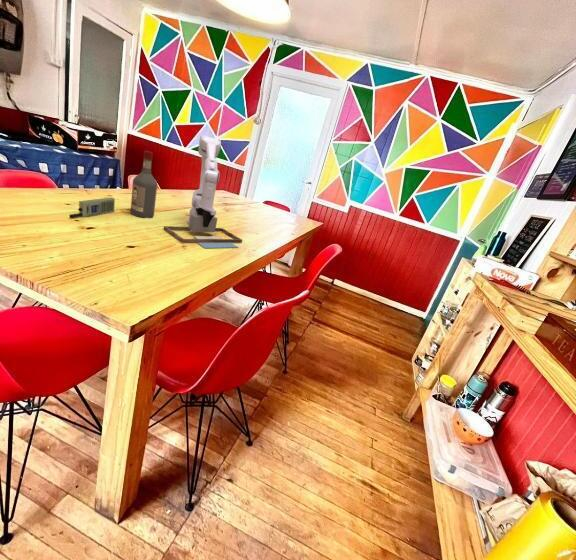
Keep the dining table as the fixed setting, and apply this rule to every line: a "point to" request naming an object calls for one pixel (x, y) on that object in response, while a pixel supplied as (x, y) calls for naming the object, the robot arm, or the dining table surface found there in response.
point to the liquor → (144, 190)
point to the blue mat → (217, 245)
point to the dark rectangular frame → (234, 240)
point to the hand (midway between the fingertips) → (202, 225)
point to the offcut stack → (206, 237)
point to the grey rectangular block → (201, 224)
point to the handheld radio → (95, 207)
